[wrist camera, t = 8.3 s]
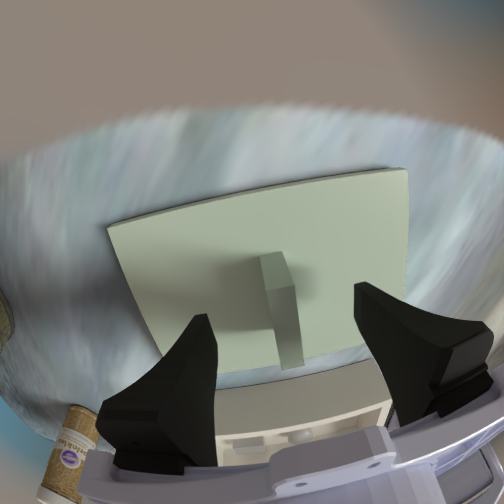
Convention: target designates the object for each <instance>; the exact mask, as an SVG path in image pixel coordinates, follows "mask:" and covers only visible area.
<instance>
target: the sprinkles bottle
mask: <svg viewBox="0 0 504 504" xmlns="http://www.w3.org/2000/svg"><path fill="white" fill-rule="evenodd" d="M96 419H97V415H96V414H94V413H93V412H91V411H90V410H88V409H86V408H83V407H80V406H71V407H70V408H69V412H68V414H67V417H66V419H65V422H64V424H63V426H62V428H61V430H60V432H59V435H58V437H57V440H56V442H55V445H54V448H53V450H52V453H51V456H50V459H49V461H48V466H47V469H46V473H45V475H44V478H43V482H42V483H41V486H39V488H38V491H37V495H36V498H37V500H39V501H40V502H42V503H43V504H81V499H82V496H81V495H79V494H78V493H77V492H76V490H77V486H78V483H79V479H80V475H81V472H82V468H83V465H84V461H85V458H86V455H87V452H88V449H93V450H96V445H97V442H98V439H99V436H100V434H99V433H98V431H97V429H96V427H95V422H96Z"/></svg>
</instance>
